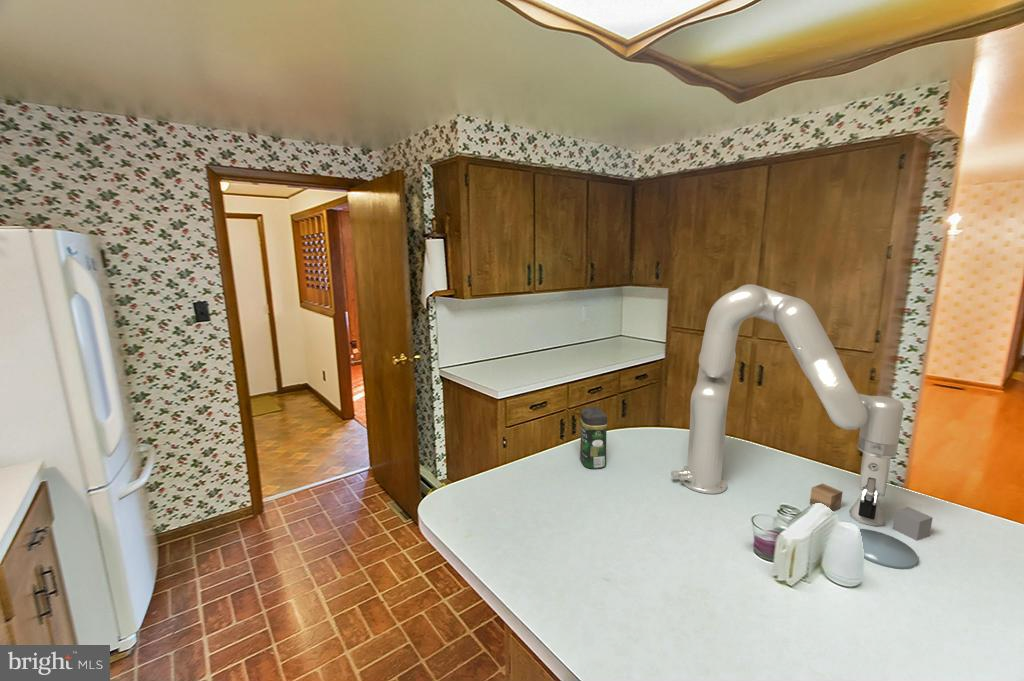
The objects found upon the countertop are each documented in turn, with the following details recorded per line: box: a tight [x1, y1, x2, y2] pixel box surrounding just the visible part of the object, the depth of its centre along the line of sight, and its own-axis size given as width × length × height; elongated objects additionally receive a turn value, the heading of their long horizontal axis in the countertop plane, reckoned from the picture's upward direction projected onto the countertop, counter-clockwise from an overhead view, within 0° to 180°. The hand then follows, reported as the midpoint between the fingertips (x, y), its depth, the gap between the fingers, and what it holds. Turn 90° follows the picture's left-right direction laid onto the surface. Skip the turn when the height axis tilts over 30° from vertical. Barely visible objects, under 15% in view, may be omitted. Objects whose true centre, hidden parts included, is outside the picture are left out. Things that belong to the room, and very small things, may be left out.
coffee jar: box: [579, 406, 608, 470], centre depth 144 cm, size 10×8×19 cm
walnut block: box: [809, 482, 843, 512], centre depth 119 cm, size 5×5×5 cm
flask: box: [848, 480, 886, 527], centre depth 113 cm, size 7×7×10 cm
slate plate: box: [859, 528, 919, 570], centre depth 101 cm, size 13×13×1 cm
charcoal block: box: [892, 506, 934, 542], centre depth 107 cm, size 5×5×5 cm
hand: (867, 509), depth 113 cm, fingers open, 8 cm apart
